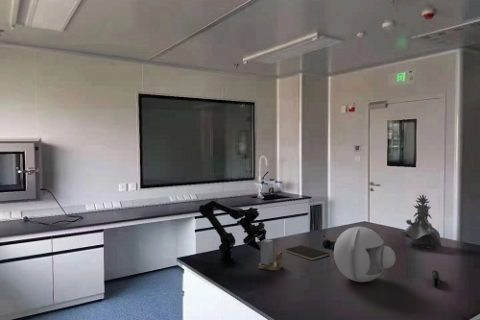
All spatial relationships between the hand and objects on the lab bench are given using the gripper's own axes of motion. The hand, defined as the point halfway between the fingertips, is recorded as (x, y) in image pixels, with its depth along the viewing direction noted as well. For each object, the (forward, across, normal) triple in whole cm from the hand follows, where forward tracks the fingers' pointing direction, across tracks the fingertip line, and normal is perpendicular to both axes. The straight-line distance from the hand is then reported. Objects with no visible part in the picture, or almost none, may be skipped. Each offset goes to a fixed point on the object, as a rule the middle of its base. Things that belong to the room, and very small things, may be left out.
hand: (263, 247), depth 207 cm
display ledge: (+10, 0, +5) cm, 11 cm away
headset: (+25, +57, -9) cm, 62 cm away
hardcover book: (+16, +36, 0) cm, 39 cm away
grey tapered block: (+7, 0, +4) cm, 9 cm away
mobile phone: (+68, +22, -54) cm, 90 cm away
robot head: (+46, +7, -32) cm, 56 cm away
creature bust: (+58, +92, -44) cm, 117 cm away
